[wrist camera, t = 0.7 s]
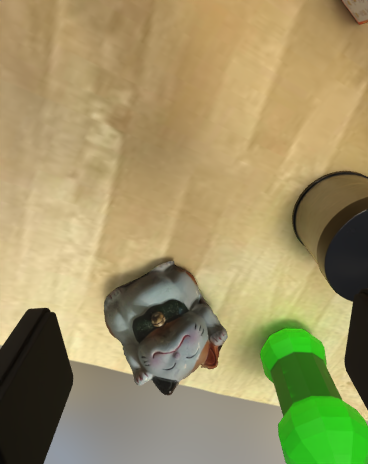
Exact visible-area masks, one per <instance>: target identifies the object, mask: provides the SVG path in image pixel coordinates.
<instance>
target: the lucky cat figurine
mask: <svg viewBox="0 0 368 464" xmlns="http://www.w3.org/2000/svg"><path fill="white" fill-rule="evenodd" d="M104 315H105V322H106V325H107V328H108V329H109V332H110V333H111V334H112V335H113V336H114V337H115V338H117V339H118V340H119V341H120V342H121V343H122V345H123V350H124V355H125V356H126V359H127V361H128V363H129V365H130V367H131V369H132V371H133V375H134V380H135V383H136V384H137V385H143V384H144V383H145V382H147V381H150V380H153V382H154V383H155V385H156V386H157V387H158V389H159V390H160V391H161V392H162V393H163V394H164V395H171V394H172V393H173V391H174V389H175V388H176V386H177V385H178V384H179V382H180V381H181V380H182V379H184V378H186V377H187V376H189V375H190V374H191V373H192V372H194V371H195V370H196V369H197V368H198V367H199V365H202V366H201V368H202V367H204V368H208V369H214V368H215V367H217V365H218V357H219V351H220V349H221V347H222V345H223V343H224V342H225V340H226V339H227V337H228V336H227V331H226V330H225V328H224V327H223V326H222V325H221V324H220V322H219V320H218V318H217V316H216V315H214V314H213V311H212V309H211V308H210V307H209V306H208V304H207V303H206V302H205V300H204V298H203V297H202V295H201V293H200V291H199V289H198V285H197V282H196V280H195V278H194V277H193V275H191V274H190V273H189V272H187V271H185V270H183V269H181V268H179V267H177V266H176V265H175V264H174V261H169V262H166V263H162V264H159V265H158V266H157V267H155V268H153V269H152V270H151V271H150V272H148V273H147V274H145V275H144V276H142V277H140V278H138V279H136V280H134V281H131V282H129V283H127V284H125V285H123V286H120V287H118V288H116V289H115V290H113V291H112V292H111V293H110V294H109V295H108V296H107V297H106V300H105V302H104Z"/></svg>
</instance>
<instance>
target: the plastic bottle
mask: <svg viewBox="0 0 368 464" xmlns="http://www.w3.org/2000/svg"><path fill="white" fill-rule="evenodd" d="M260 356H261V360H262V364H263V368H264V372H265V375H266V376H267V377H268V379H269V380H270V381H272V382H273V383H274V386H275V389H276V392H277V396H278V399H279V403H280V406H281V410H282V413H283V418H282V420H281V421H280V423H279V424H278V432H279V438H280V442H281V446H282V450H283V454H284V457H285V461H286V463H287V464H368V426H367V424H366V422H365V420H364V418H363V417H362V416H361V415H360V414H359V412H358V411H357V410H356V409H354V408H353V407H351V406H350V405H348V404H347V403H345V402H344V401H342V398H341V396H340V394H339V392H338V390H337V388H336V386H335V384H334V382H333V380H332V378H331V376H330V374H329V372H328V369H327V367H326V356H325V350H324V346H323V344H322V342H321V341H319V340H318V339H317V338H315V337H314V336H312V335H311V334H310V333H308V332H307V331H305V330H304V329H294V328H284V329H282V330H280V331H278V332H276V333H274V334H272V335H270V336H269V338H268V339H267V341H266V343H265V344H264V346H263V348H262V349H261V353H260Z"/></svg>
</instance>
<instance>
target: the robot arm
mask: <svg viewBox="0 0 368 464" xmlns="http://www.w3.org/2000/svg"><path fill="white" fill-rule="evenodd" d="M344 362H345V368H346V371H347V373H348V375H349V377H350V379H351V380H352V382H353V384H354V386H355V388H356V390H357V391H358V393H359V395H360V397H361V399H362V400H363V402H364V404H365V406H366V408H367V410H368V288H365V289H361V290H360V292H359V294H355V296H354V300H353V307H352V313H351V320H350V327H349V333H348V340H347V346H346V353H345V361H344ZM72 385H73V373H72V370H71V366H70V363H69V359H68V356H67V352H66V349H65V345H64V341H63V338H62V334H61V331H60V327H59V324H58V320H57V317H56V314H55V313H54V312H50V310H49V309H48V308H36V309H28V310H27V311H26V313H25V314H24V315H23V317H22V318H21V320H20V321H19V323H18V324H17V326H16V327H15V329H14V330H13V331H12V333H11V334H10V336H9V337H8V339H7V340H6V342H5V343H4V345H3V346H2V348H1V349H0V464H43V463H44V461H45V458H46V455H47V452H48V450H49V447H50V445H51V442H52V439H53V436H54V434H55V431H56V428H57V426H58V423H59V420H60V418H61V415H62V412H63V410H64V407H65V404H66V402H67V399H68V396H69V393H70V391H71V388H72Z"/></svg>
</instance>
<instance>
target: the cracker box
mask: <svg viewBox="0 0 368 464" xmlns="http://www.w3.org/2000/svg"><path fill="white" fill-rule="evenodd" d="M341 1H342V2H343V3H344V5H345V6H346V7H347V9H348V10H349V11H350V13H351V14H352V15H353V17H354V18H355V19H356V21H357V22H358V24H359V25H361V24H364V23H367V22H368V0H341Z"/></svg>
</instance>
